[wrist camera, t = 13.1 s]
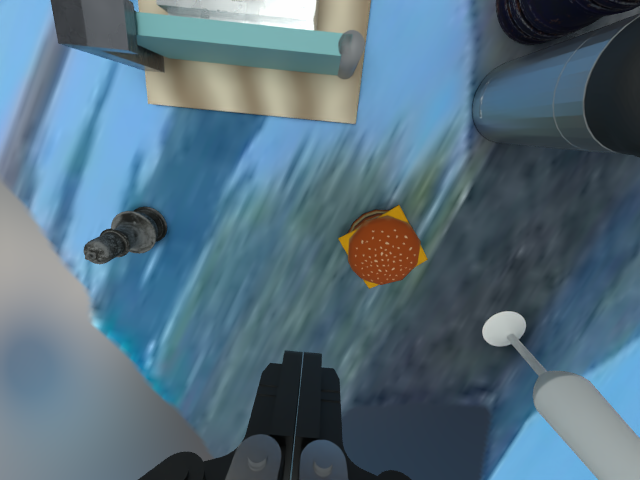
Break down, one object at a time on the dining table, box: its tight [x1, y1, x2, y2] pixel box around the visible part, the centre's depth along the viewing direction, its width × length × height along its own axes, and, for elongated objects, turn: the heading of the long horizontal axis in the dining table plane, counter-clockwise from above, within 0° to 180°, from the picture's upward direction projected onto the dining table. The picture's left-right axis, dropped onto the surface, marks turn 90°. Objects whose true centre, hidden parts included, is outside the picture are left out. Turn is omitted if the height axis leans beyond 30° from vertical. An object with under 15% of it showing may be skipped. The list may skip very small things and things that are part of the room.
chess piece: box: [84, 207, 167, 264], centre depth 38 cm, size 6×6×12 cm
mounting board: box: [138, 0, 371, 124], centre depth 34 cm, size 25×18×2 cm
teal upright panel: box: [134, 12, 365, 79], centre depth 29 cm, size 21×2×10 cm, turn 85°
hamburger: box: [338, 205, 428, 289], centre depth 40 cm, size 9×10×7 cm
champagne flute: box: [482, 311, 640, 480], centre depth 37 cm, size 7×7×24 cm
